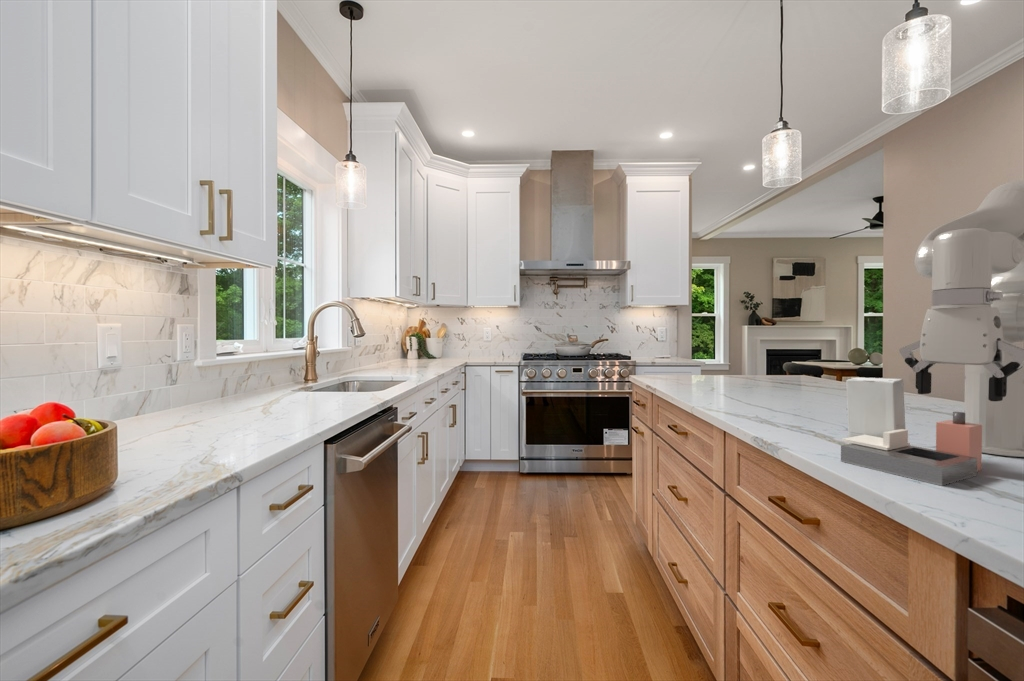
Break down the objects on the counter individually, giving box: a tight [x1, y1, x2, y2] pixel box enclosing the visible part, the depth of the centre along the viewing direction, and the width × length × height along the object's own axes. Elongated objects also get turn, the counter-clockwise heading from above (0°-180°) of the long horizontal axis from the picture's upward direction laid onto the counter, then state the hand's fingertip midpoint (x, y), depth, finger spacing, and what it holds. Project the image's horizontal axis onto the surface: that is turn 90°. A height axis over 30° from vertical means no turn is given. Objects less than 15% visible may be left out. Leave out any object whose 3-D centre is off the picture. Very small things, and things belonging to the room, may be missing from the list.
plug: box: [935, 411, 983, 471], centre depth 81 cm, size 4×4×10 cm
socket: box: [840, 443, 978, 487], centre depth 82 cm, size 12×15×3 cm
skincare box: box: [845, 376, 907, 444], centre depth 93 cm, size 8×6×15 cm
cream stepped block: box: [841, 429, 911, 450], centre depth 87 cm, size 8×8×3 cm
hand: (958, 397), depth 81 cm, fingers open, 9 cm apart
